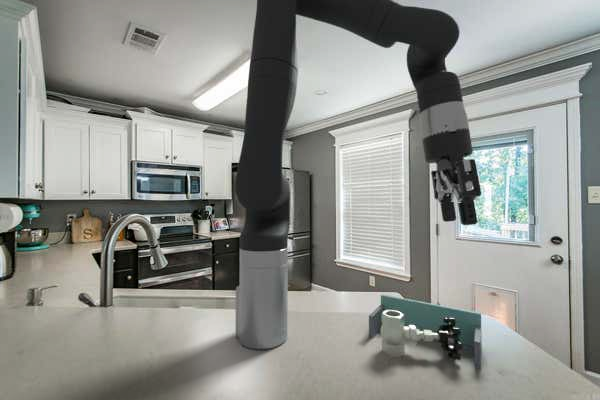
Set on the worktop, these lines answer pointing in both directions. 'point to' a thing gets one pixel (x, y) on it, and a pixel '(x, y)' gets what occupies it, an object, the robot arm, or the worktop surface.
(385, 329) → the valve
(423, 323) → the walled bay
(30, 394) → the worktop surface
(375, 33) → the robot arm
